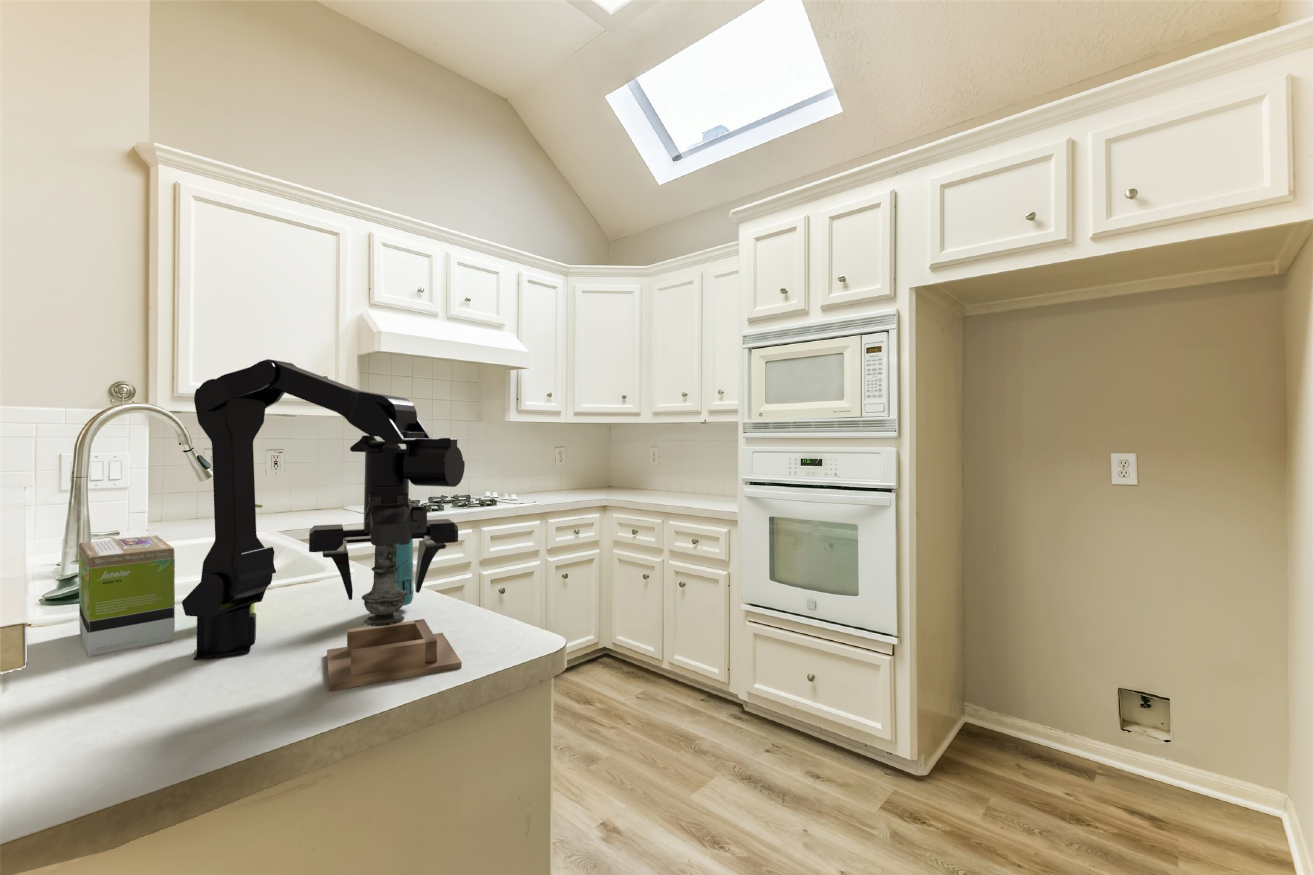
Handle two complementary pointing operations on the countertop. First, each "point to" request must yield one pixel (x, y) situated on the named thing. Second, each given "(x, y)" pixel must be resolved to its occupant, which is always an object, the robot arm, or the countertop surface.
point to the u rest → (389, 654)
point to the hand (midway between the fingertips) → (384, 595)
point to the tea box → (126, 594)
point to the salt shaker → (384, 589)
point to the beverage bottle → (405, 570)
